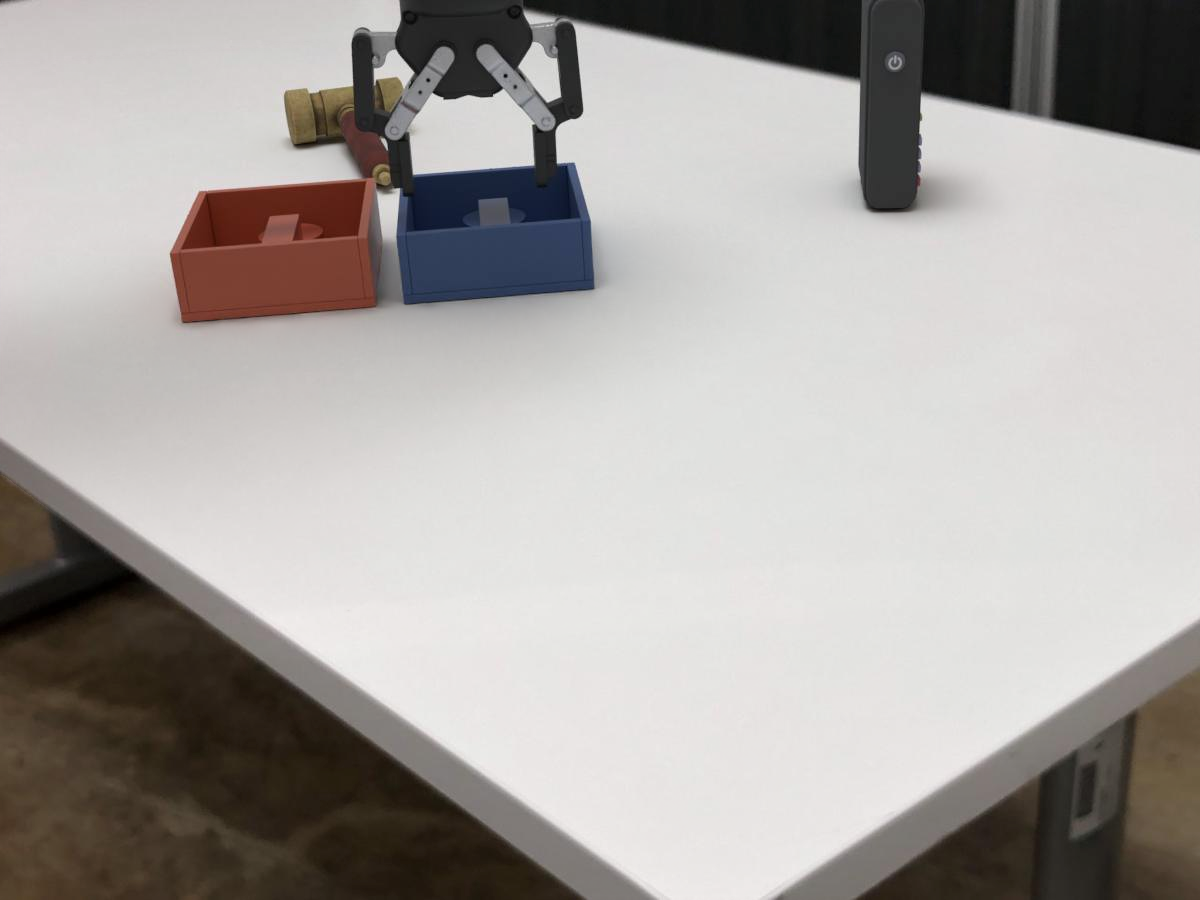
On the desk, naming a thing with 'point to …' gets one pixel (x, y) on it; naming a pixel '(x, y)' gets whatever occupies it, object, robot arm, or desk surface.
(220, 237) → the red bin
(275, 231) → the red bar with disc
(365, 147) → the gavel
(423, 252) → the blue bin
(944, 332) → the desk surface
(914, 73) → the card reader
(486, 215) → the blue disc with bar
